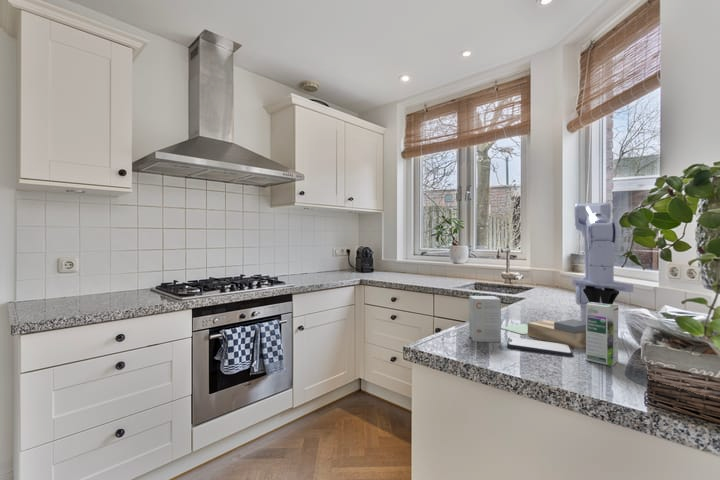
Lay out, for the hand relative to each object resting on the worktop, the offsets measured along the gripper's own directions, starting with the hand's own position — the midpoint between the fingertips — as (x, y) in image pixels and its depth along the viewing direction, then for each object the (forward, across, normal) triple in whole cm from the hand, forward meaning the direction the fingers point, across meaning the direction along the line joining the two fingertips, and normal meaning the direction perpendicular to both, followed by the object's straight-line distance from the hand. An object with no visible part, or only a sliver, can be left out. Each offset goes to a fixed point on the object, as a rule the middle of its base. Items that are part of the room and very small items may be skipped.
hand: (600, 314), depth 94 cm
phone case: (+11, -9, -14) cm, 20 cm away
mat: (+10, -24, 0) cm, 26 cm away
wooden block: (+10, -12, 0) cm, 15 cm away
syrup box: (+10, +5, -9) cm, 14 cm away
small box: (+10, -22, -21) cm, 32 cm away
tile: (+6, -8, 0) cm, 10 cm away
